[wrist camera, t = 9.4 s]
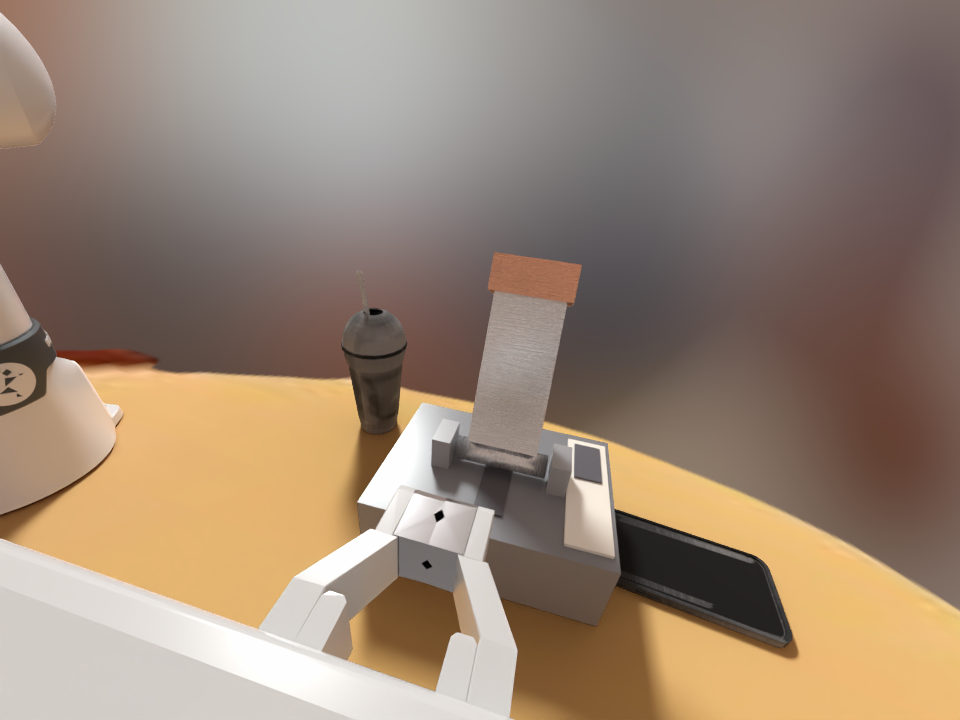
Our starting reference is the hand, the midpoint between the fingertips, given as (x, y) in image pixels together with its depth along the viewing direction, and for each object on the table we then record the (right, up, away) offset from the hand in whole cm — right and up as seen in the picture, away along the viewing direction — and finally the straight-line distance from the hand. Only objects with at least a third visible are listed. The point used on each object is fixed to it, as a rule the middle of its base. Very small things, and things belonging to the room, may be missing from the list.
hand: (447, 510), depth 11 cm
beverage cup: (-12, -4, +37) cm, 39 cm away
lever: (+3, -4, +21) cm, 22 cm away
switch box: (+2, -11, +25) cm, 28 cm away
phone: (+19, -15, +23) cm, 34 cm away
